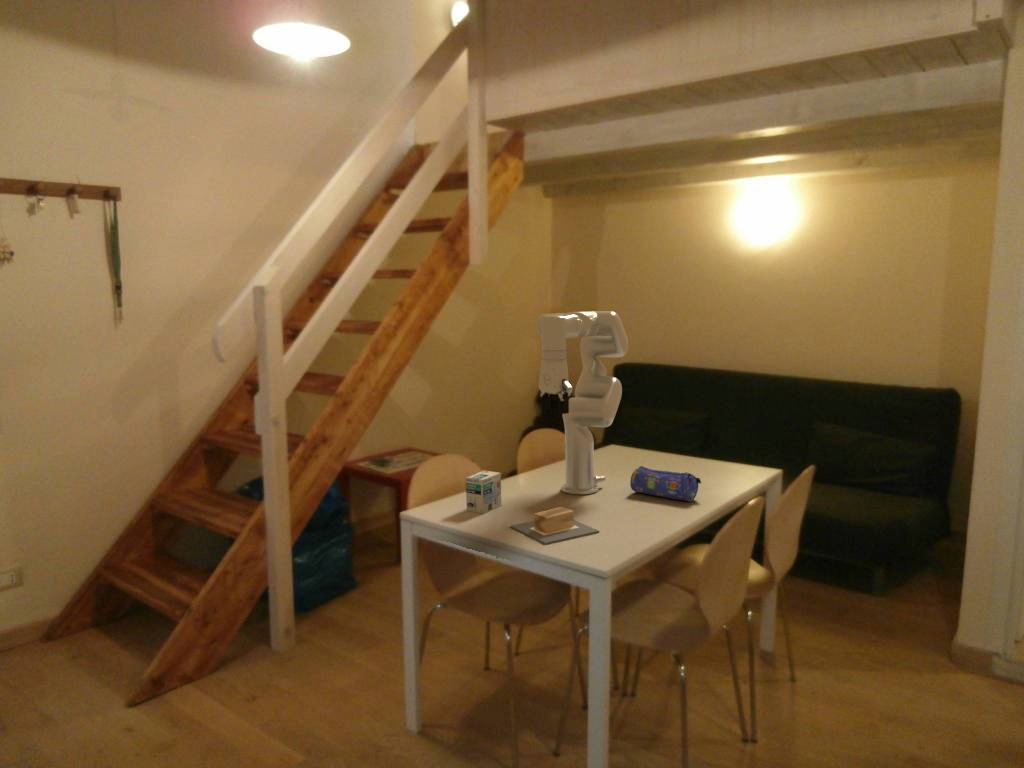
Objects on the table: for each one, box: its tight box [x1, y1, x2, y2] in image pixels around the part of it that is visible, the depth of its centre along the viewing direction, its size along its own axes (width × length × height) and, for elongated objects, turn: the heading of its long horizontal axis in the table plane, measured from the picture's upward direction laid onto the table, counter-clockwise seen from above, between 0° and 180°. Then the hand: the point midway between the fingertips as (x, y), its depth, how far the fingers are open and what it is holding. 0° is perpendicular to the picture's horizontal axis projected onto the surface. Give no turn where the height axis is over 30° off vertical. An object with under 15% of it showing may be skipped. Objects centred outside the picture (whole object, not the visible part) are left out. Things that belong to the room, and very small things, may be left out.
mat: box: [510, 519, 600, 545], centre depth 210 cm, size 18×18×1 cm
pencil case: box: [630, 466, 702, 503], centre depth 241 cm, size 22×9×10 cm, turn 51°
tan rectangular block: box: [533, 506, 575, 534], centre depth 210 cm, size 6×10×4 cm, turn 128°
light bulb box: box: [465, 470, 502, 514], centre depth 232 cm, size 11×7×11 cm, turn 149°
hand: (554, 411), depth 228 cm, fingers open, 9 cm apart
